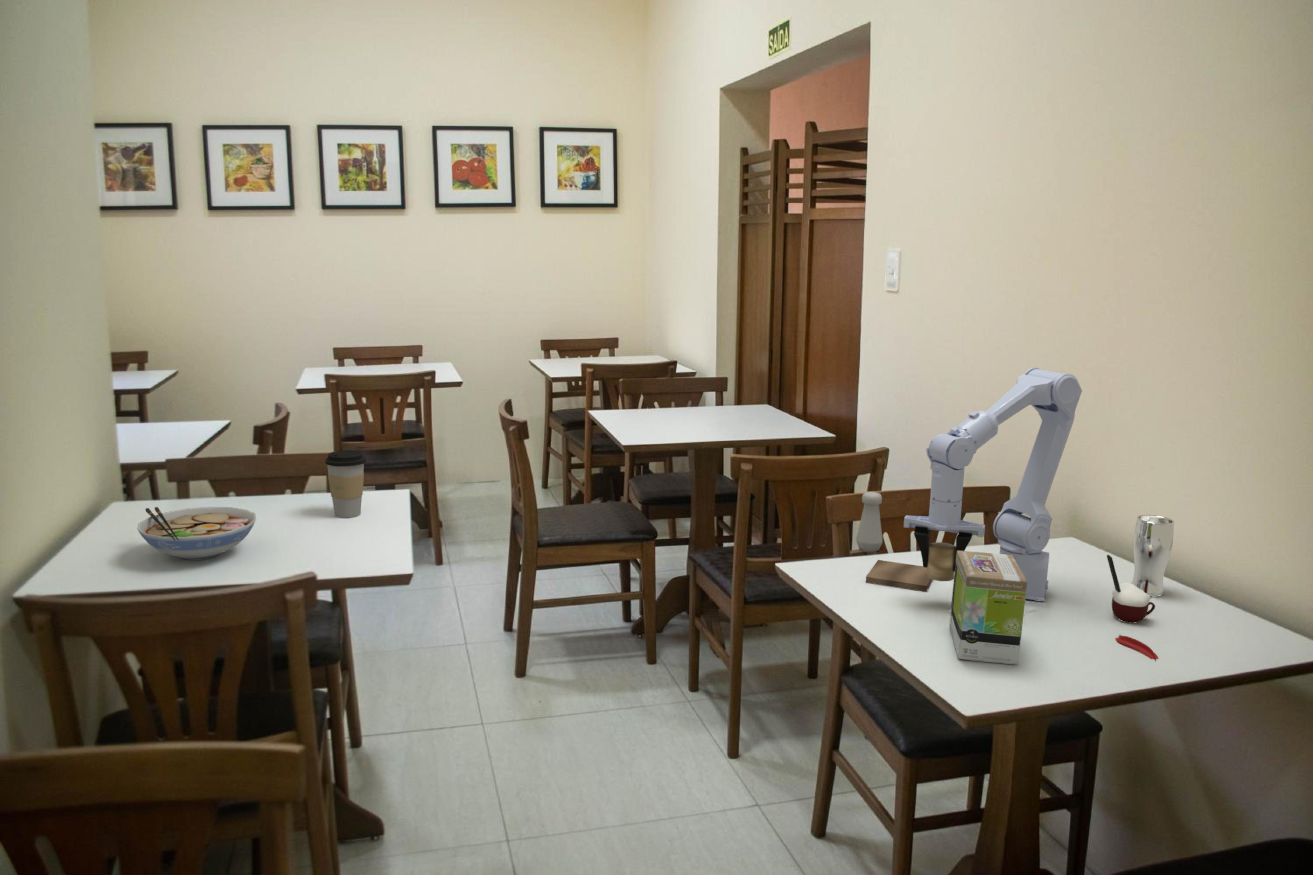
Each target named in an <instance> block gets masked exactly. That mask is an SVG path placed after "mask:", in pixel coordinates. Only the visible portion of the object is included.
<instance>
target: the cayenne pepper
mask: <svg viewBox="0 0 1313 875" xmlns="http://www.w3.org/2000/svg"><path fill="white" fill-rule="evenodd" d="M1115 641H1116V642H1117V644H1119V645H1121V646H1123V647H1126V648H1129V649H1131V650H1134V651H1136V652H1137V653H1140V654H1142V655H1144V656H1145V657H1147V658H1149V659H1150V660H1154V662H1156V661H1157V660H1159V656H1158V655H1157V653H1155V652H1154V650H1153V649H1152V648H1151V647H1150V646H1148V645H1147V644H1145V643H1144V642H1142V641H1140V640H1139V639H1138V640H1137V638H1136V639H1135V638H1133V637H1130V636H1126V635H1121V634H1119V635H1118V637H1115Z"/></svg>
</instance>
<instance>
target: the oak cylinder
mask: <svg viewBox="0 0 1313 875" xmlns="http://www.w3.org/2000/svg"><path fill="white" fill-rule="evenodd" d="M955 556H956V545H954V544H952V543H947V542H941V541H937V542H931V543H930V542H929V548H928V562H927V577H928V578H930V579H932V581H936V582H937V581H938V582H951V581H954V573H955V572H954V562H955Z"/></svg>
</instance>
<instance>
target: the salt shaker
mask: <svg viewBox="0 0 1313 875" xmlns="http://www.w3.org/2000/svg"><path fill="white" fill-rule="evenodd" d="M882 500H883V497H882V495H881V493H879V492H877V491H865V492H863V493H862V496H861V502H862V503H863V509H862V513H861V516H860V521H859V522H860V523H859V526H858V528H857V529H858V530H857V533H856V537H855V538H856V539H855V541H856V544H857V547H858V550H860V551H862V552H864V553H876V552H879V550H880V548H881V546H882V544H883V541H884V540H883V533H882V532H883V531H882V523H881V513H880V505H881V504H882Z"/></svg>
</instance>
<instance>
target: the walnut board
mask: <svg viewBox="0 0 1313 875" xmlns="http://www.w3.org/2000/svg"><path fill="white" fill-rule="evenodd" d="M932 581H933V580H932V579H930V578H928V577H927V568H925V567H923V565H917V564H916V565H915V564H910V563H902V562H894V561H889V560H882V559H877V561H876V562H875V564H874V565H873V566H872V568H871V569H870V571H869V572H868V574H866V577H865V583H866V584H874V585H881V586H885V587H887V586H888V587H894V588H900V589H906V590H913V591H920V592H925V593H926V592H927V591H928V589H929V588H930V585H932V584H931V583H932Z"/></svg>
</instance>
